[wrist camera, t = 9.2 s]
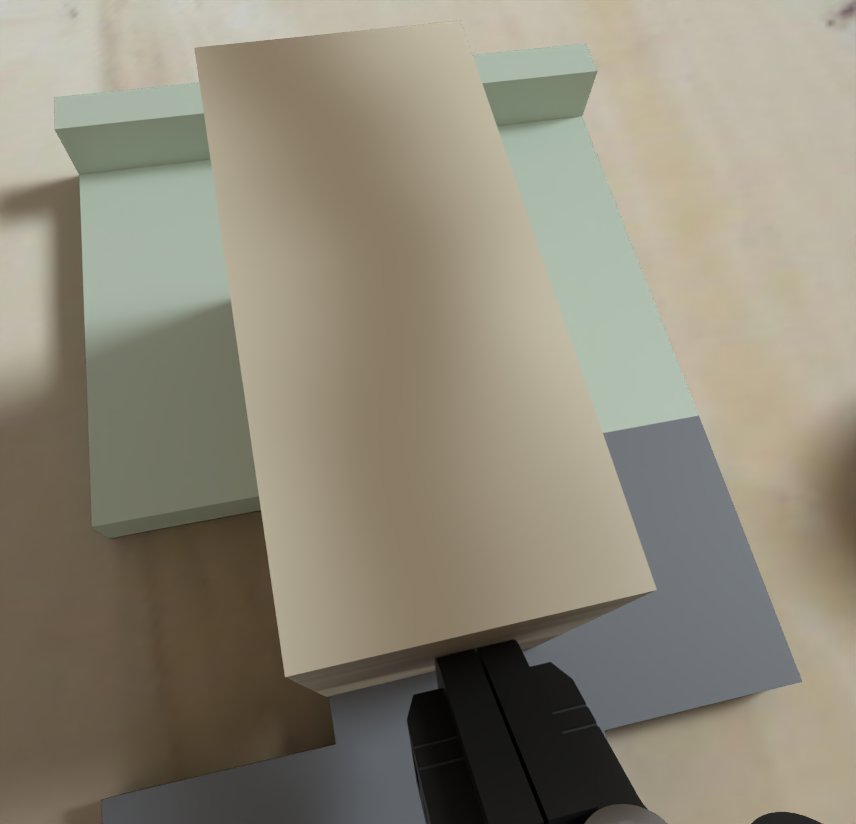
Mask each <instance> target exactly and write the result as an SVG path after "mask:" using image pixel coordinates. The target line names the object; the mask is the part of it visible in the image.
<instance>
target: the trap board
mask: <svg viewBox="0 0 856 824" xmlns="http://www.w3.org/2000/svg"><path fill="white" fill-rule="evenodd" d="M473 58H474V61H475V64H476V67H477V70H478V72H479V75H480V78H481V81H482V84H483V87H484V90H485V93H486V96H487V99H488V101H489V104H490V107H491V110H492V113H493V116H494V119H495V122H496V125H497V128H498V130H499V133H500V136H501V139H502V142H503V145H504V148H505V151H506V154H507V157H508V159H509V162H510V165H511V168H512V171H513V174H514V177H515V180H516V183H517V186H518V188H519V191H520V194H521V197H522V200H523V203H524V206H525V209H526V212H527V215H528V217H529V220H530V223H531V226H532V229H533V232H534V235H535V238H536V241H537V244H538V246H539V249H540V252H541V255H542V258H543V261H544V264H545V267H546V270H547V273H548V275H549V278H550V281H551V284H552V287H553V290H554V293H555V296H556V299H557V302H558V304H559V307H560V310H561V313H562V316H563V319H564V322H565V325H566V328H567V331H568V333H569V336H570V339H571V342H572V345H573V348H574V351H575V354H576V357H577V360H578V362H579V365H580V368H581V371H582V374H583V377H584V380H585V383H586V386H587V389H588V391H589V394H590V397H591V400H592V403H593V406H594V409H595V412H596V415H597V418H598V420H599V423H600V426H601V429H602V432H603V435H604V438H605V441H606V444H607V447H608V449H609V452H610V455H611V458H612V461H613V464H614V467H615V470H616V473H617V476H618V478H619V481H620V484H621V487H622V490H623V493H624V496H625V499H626V502H627V505H628V507H629V510H630V513H631V516H632V519H633V522H634V525H635V528H636V531H637V534H638V536H639V539H640V542H641V545H642V548H643V551H644V554H645V557H646V560H647V563H648V565H649V568H650V571H651V574H652V577H653V580H654V583H655V586H656V589H657V590H656V591H654V592H652V593H649V594H647V595H645V596H643V597H641V598H639V599H637V600H634V601H632V602H630V603H628V604H626V605H624V606H622V607H620V608H617V609H615V610H613V611H611V612H609V613H607V614H605V615H602V616H600V617H598V618H596V619H594V620H592V621H590V622H587V623H585V624H583V625H581V626H579V627H577V628H575V629H572V630H570V631H568V632H566V633H564V634H562V635H560V636H557V637H555V638H553V639H551V640H549V641H547V642H545V643H542V644H540V645H538V646H536V647H532V648H528V649H524V650H522V652H523V654H524V656H525V658H526V660H527V662H528V664H529V666H530V667H531V666H535V665H539V664H544V663H548V662H552V663H553V664H554V665H555V666H557V667H558V668H559V669H560V670H562V671H563V672H564V673H565V674H567V675H568V676H569V677H571V678H572V679H573V680H574V682H575V684H576V686H577V688H578V689H579V691H580V693H581V695H582V697H583V698H584V700H585V702H586V706H587V707H589V709H590V711H591V713H592V715H593V716H594V718H595V720H596V723H597V726H599V727H600V729H601V731H602V733H603V734H604V736H605V738H606V740H607V737H606V734H605V730H607V729H612V728H616V727H620V726H624V725H628V724H632V723H636V722H640V721H644V720H648V719H652V718H656V717H660V716H664V715H669V714H673V713H677V712H681V711H685V710H689V709H693V708H697V707H701V706H705V705H709V704H713V703H717V702H721V701H726V700H730V699H734V698H738V697H742V696H746V695H750V694H754V693H758V692H762V691H766V690H770V689H774V688H778V687H783V686H787V685H791V684H795V683H799V682H802V680H801V677H800V675H799V672H798V670H797V667H796V665H795V662H794V659H793V657H792V654H791V652H790V649H789V647H788V644H787V641H786V639H785V636H784V634H783V631H782V629H781V626H780V623H779V621H778V618H777V616H776V613H775V611H774V608H773V605H772V603H771V600H770V598H769V595H768V593H767V590H766V587H765V585H764V582H763V580H762V577H761V575H760V572H759V569H758V567H757V564H756V562H755V559H754V557H753V554H752V551H751V549H750V546H749V544H748V541H747V539H746V536H745V533H744V531H743V528H742V526H741V523H740V521H739V518H738V515H737V513H736V510H735V508H734V505H733V503H732V500H731V497H730V495H729V492H728V490H727V487H726V485H725V482H724V479H723V477H722V474H721V472H720V469H719V467H718V464H717V461H716V459H715V456H714V454H713V451H712V449H711V446H710V443H709V441H708V438H707V436H706V433H705V431H704V428H703V425H702V423H701V420H700V418H699V415H698V413H697V410H696V407H695V405H694V402H693V400H692V397H691V395H690V392H689V389H688V387H687V384H686V382H685V379H684V377H683V374H682V371H681V369H680V366H679V364H678V361H677V359H676V356H675V353H674V351H673V348H672V346H671V343H670V341H669V338H668V335H667V333H666V330H665V328H664V325H663V323H662V320H661V317H660V315H659V312H658V310H657V307H656V305H655V302H654V299H653V297H652V294H651V292H650V289H649V287H648V284H647V281H646V279H645V276H644V274H643V271H642V269H641V266H640V263H639V261H638V258H637V256H636V253H635V251H634V248H633V245H632V243H631V240H630V238H629V235H628V233H627V230H626V227H625V225H624V222H623V220H622V217H621V215H620V212H619V209H618V207H617V204H616V202H615V199H614V197H613V194H612V191H611V189H610V186H609V184H608V181H607V179H606V176H605V173H604V171H603V168H602V166H601V163H600V161H599V158H598V155H597V153H596V150H595V148H594V145H593V143H592V140H591V137H590V135H589V132H588V130H587V127H586V125H585V122H584V119H583V117H582V115H583V112H584V109H585V106H586V103H587V100H588V97H589V94H590V91H591V88H592V85H593V83H594V80H595V77H596V74H597V69H596V66H595V64H594V62H593V59H592V57H591V54H590V52H589V49H588V47H587V45H586V44H576V45H566V46H556V47H546V48H536V49H527V50H517V51H507V52H497V53H487V54H477V55H473ZM54 128H55V131H56V133H57V135H58V137H59V138H60V140H61V142H62V144H63V146H64V148H65V149H66V151H67V153H68V155H69V157H70V159H71V160H72V162H73V164H74V166H75V168H76V170H77V171H78V173H79V182H80V211H81V239H82V267H83V296H84V324H85V352H86V381H87V409H88V437H89V466H90V494H91V522H92V527H93V528H94V529H96V530H97V531H99V532H100V533H101V534H103V535H104V536H106V537H107V538H113V537H119V536H124V535H130V534H135V533H140V532H146V531H151V530H156V529H162V528H167V527H173V526H178V525H183V524H189V523H194V522H199V521H205V520H210V519H216V518H221V517H226V516H232V515H237V514H242V513H248V512H253V511H259V510H261V507H260V500H259V493H258V486H257V479H256V472H255V465H254V458H253V451H252V444H251V437H250V430H249V423H248V416H247V409H246V402H245V395H244V389H243V382H242V375H241V368H240V361H239V354H238V347H237V340H236V333H235V326H234V319H233V312H232V305H231V298H230V291H229V284H228V277H227V270H226V263H225V256H224V249H223V243H222V236H221V229H220V222H219V215H218V208H217V201H216V194H215V187H214V180H213V173H212V166H211V159H210V152H209V145H208V138H207V131H206V124H205V117H204V110H203V103H202V97H201V90H200V83H191V84H181V85H171V86H161V87H151V88H141V89H132V90H122V91H112V92H102V93H92V94H82V95H72V96H63V97H54ZM435 689H438V684H437V677H436V671H432V672H428V673H424V674H420V675H416V676H412V677H408V678H403V679H399V680H395V681H391V682H387V683H383V684H378V685H374V686H370V687H366V688H362V689H358V690H353V691H349V692H345V693H341V694H337V695H333V696H329V701H330V708H331V714H332V721H333V728H334V734H335V741H336V744H333V745H328V746H324V747H320V748H316V749H311V750H307V751H303V752H299V753H294V754H290V755H286V756H282V757H277V758H273V759H269V760H265V761H260V762H256V763H252V764H248V765H243V766H239V767H235V768H231V769H226V770H222V771H218V772H214V773H209V774H205V775H201V776H196V777H192V778H188V779H184V780H179V781H175V782H171V783H167V784H162V785H158V786H154V787H150V788H145V789H141V790H137V791H133V792H128V793H124V794H120V795H116V796H113V797H109V798H106V799H102V800H101V806H102V824H426V822H425V818H424V813H423V809H422V805H421V800H420V796H419V791H418V787H417V782H416V776H415V769H414V763H413V757H412V750H411V744H410V738H409V731H408V725H407V717H408V713H409V709H410V705H411V701H412V697H413V695H414V694H418V693H423V692H427V691H431V690H435ZM607 742H608V741H607Z"/></svg>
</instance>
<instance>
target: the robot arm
mask: <svg viewBox="0 0 856 824" xmlns="http://www.w3.org/2000/svg"><path fill="white" fill-rule="evenodd" d="M435 669H436V677H437V684H438V689H435V690H431V691H427V692H423V693H418V694H414V695H413V697H412V701H411V705H410V709H409V713H408V717H407V725H408V731H409V738H410V744H411V750H412V757H413V763H414V769H415V776H416V782H417V787H418V791H419V796H420V800H421V805H422V809H423V813H424V818H425V822H426V824H667V823H666V822H665V821H664V820H663V819H662V818H660V817H659V816H658V815H656V814H655V813H653V812H651V811H649V810H648V809H647V808H646V807H645V806H644V805H643V803H642V802H641V800H640V799H639V797H638V795H637V794H636V792H635V790H634V788H633V786H632V785H631V783H630V781H629V779H628V777H627V776H626V774H625V772H624V770H623V768H622V767H621V765H620V763H619V761H618V759H617V758H616V756H615V754H614V752H613V750H612V749H611V747H610V745H609V743H608V742H607V740H606V738H605V736H604V734H603V733H602V731H601V729H600V727H599V726H597V723H596V720H595V718H594V716H593V715H592V713H591V711H590V709H589V707H587V706H586V702H585V700H584V698H583V697H582V695H581V693H580V691H579V689H578V688H577V686H576V684H575V682H574V680H573V679H572V678H571V677H569V676H568V675H567V674H565V673H564V672H563V671H562V670H560V669H559V668H558V667H557V666H555V665H554V664H553V663H552V662H548V663H544V664H539V665H535V666H531V667H530V666H529V664H528V662H527V660H526V658H525V656H524V654H523V652H522V650H521V648H520V646H519V644H518V642H517V641H516V640H515V639H514V640H510V641H506V642H502V643H497V644H493V645H489V646H485V647H480V648H477V649H476V651H475V650H474V649H472V650H468V651H464V652H459V653H455V654H451V655H447V656H442V657H438V658H435ZM752 824H822V823H820V822H818V821H816V820H813V819H811V818H808V817H806V816H803V815H799V814H796V813H789V812H775V813H769V814H766V815H763V816H761V817H759V818H757V819H756V820H755V821H754V822H753V823H752Z"/></svg>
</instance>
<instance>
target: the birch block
mask: <svg viewBox="0 0 856 824" xmlns="http://www.w3.org/2000/svg"><path fill="white" fill-rule="evenodd" d="M195 55H196V62H197V69H198V76H199V83H200V90H201V97H202V103H203V110H204V117H205V124H206V131H207V138H208V145H209V152H210V159H211V166H212V173H213V180H214V187H215V194H216V201H217V208H218V215H219V222H220V229H221V236H222V243H223V249H224V256H225V263H226V270H227V277H228V284H229V291H230V298H231V305H232V312H233V319H234V326H235V333H236V340H237V347H238V354H239V361H240V368H241V375H242V382H243V389H244V395H245V402H246V409H247V416H248V423H249V430H250V437H251V444H252V451H253V458H254V465H255V472H256V479H257V486H258V493H259V500H260V507H261V514H262V521H263V528H264V535H265V541H266V548H267V555H268V562H269V569H270V576H271V583H272V590H273V597H274V604H275V611H276V618H277V625H278V632H279V639H280V646H281V653H282V660H283V667H284V674H285V677H286V678H288V679H290V680H292V681H294V682H296V683H298V684H300V685H302V686H304V687H306V688H308V689H310V690H313V691H315V692H317V693H319V694H321V695H323V696H325V697H329V696H333V695H337V694H341V693H345V692H349V691H353V690H358V689H362V688H366V687H370V686H374V685H378V684H383V683H387V682H391V681H395V680H399V679H403V678H408V677H412V676H416V675H420V674H424V673H428V672H432V671H436V669H435V658H438V657H442V656H447V655H451V654H455V653H459V652H464V651H468V650H472V649H474V650H475V651H476V649H477V648H480V647H485V646H489V645H493V644H497V643H502V642H506V641H510V640H514V639H515V640H516V641H517V642H518V644H519V646H520V648H521V650H524V649H528V648H532V647H536V646H538V645H540V644H542V643H545V642H547V641H549V640H551V639H553V638H555V637H557V636H560V635H562V634H564V633H566V632H568V631H570V630H572V629H575V628H577V627H579V626H581V625H583V624H585V623H587V622H590V621H592V620H594V619H596V618H598V617H600V616H602V615H605V614H607V613H609V612H611V611H613V610H615V609H617V608H620V607H622V606H624V605H626V604H628V603H630V602H632V601H634V600H637V599H639V598H641V597H643V596H645V595H647V594H649V593H652V592H654V591H656V590H657V589H656V586H655V583H654V580H653V577H652V574H651V571H650V568H649V565H648V563H647V560H646V557H645V554H644V551H643V548H642V545H641V542H640V539H639V536H638V534H637V531H636V528H635V525H634V522H633V519H632V516H631V513H630V510H629V507H628V505H627V502H626V499H625V496H624V493H623V490H622V487H621V484H620V481H619V478H618V476H617V473H616V470H615V467H614V464H613V461H612V458H611V455H610V452H609V449H608V447H607V444H606V441H605V438H604V435H603V432H602V429H601V426H600V423H599V420H598V418H597V415H596V412H595V409H594V406H593V403H592V400H591V397H590V394H589V391H588V389H587V386H586V383H585V380H584V377H583V374H582V371H581V368H580V365H579V362H578V360H577V357H576V354H575V351H574V348H573V345H572V342H571V339H570V336H569V333H568V331H567V328H566V325H565V322H564V319H563V316H562V313H561V310H560V307H559V304H558V302H557V299H556V296H555V293H554V290H553V287H552V284H551V281H550V278H549V275H548V273H547V270H546V267H545V264H544V261H543V258H542V255H541V252H540V249H539V246H538V244H537V241H536V238H535V235H534V232H533V229H532V226H531V223H530V220H529V217H528V215H527V212H526V209H525V206H524V203H523V200H522V197H521V194H520V191H519V188H518V186H517V183H516V180H515V177H514V174H513V171H512V168H511V165H510V162H509V159H508V157H507V154H506V151H505V148H504V145H503V142H502V139H501V136H500V133H499V130H498V128H497V125H496V122H495V119H494V116H493V113H492V110H491V107H490V104H489V101H488V99H487V96H486V93H485V90H484V87H483V84H482V81H481V78H480V75H479V72H478V70H477V67H476V64H475V61H474V58H473V55H472V52H471V49H470V46H469V43H468V41H467V38H466V35H465V32H464V29H463V26H462V23H461V20H460V21H450V22H440V23H431V24H421V25H411V26H401V27H392V28H382V29H372V30H363V31H353V32H343V33H333V34H324V35H314V36H304V37H295V38H285V39H275V40H265V41H256V42H246V43H236V44H227V45H217V46H207V47H197V48H195Z"/></svg>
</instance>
